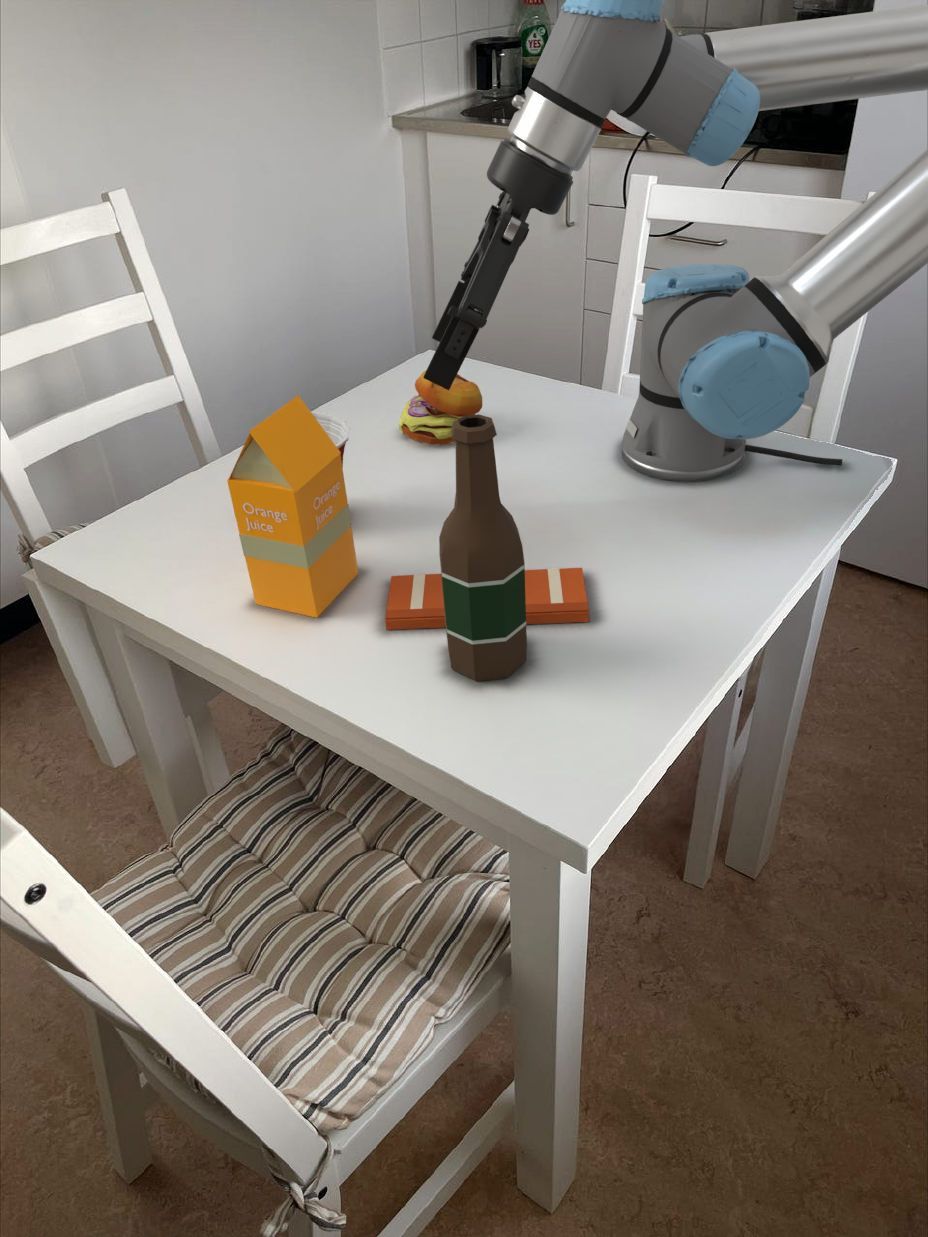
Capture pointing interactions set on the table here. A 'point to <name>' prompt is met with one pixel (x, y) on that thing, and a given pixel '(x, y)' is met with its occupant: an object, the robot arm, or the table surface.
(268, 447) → the orange juice
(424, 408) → the cheeseburger
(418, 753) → the table surface
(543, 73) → the robot arm
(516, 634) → the beer bottle
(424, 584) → the towel
